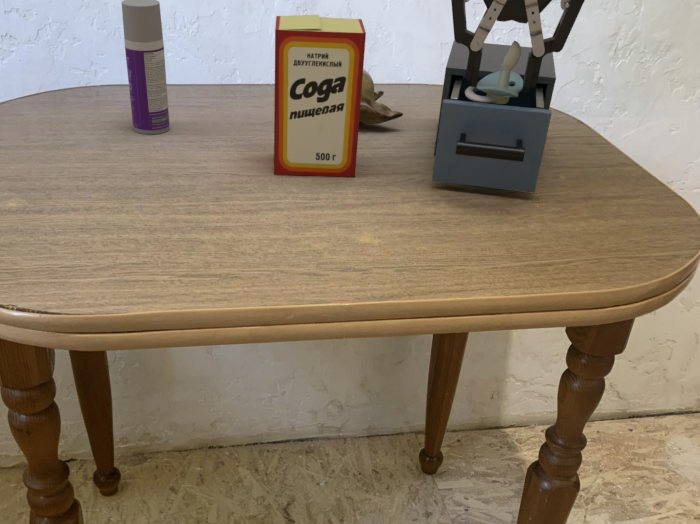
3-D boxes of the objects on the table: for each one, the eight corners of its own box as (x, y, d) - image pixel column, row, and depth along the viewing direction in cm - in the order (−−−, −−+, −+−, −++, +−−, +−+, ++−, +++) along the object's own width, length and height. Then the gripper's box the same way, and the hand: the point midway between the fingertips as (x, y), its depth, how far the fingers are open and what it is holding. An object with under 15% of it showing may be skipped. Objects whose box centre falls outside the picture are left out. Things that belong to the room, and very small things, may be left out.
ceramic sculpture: (282, 42, 103) (388, 48, 106) (277, 108, 108) (379, 111, 112) (297, 65, 95) (412, 70, 98) (291, 135, 100) (400, 137, 103)
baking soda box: (351, 156, 95) (361, 15, 86) (354, 176, 90) (366, 29, 80) (275, 154, 95) (276, 12, 85) (273, 174, 90) (275, 25, 80)
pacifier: (458, 105, 84) (513, 112, 83) (466, 44, 80) (524, 50, 79) (470, 87, 90) (523, 94, 88) (479, 29, 86) (533, 35, 84)
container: (126, 127, 101) (112, 0, 92) (156, 120, 103) (146, -4, 94) (146, 137, 98) (134, 8, 89) (176, 129, 101) (168, 3, 91)
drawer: (534, 209, 82) (553, 127, 77) (428, 196, 84) (439, 115, 79) (532, 154, 96) (548, 80, 90) (440, 144, 97) (451, 71, 92)
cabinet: (536, 167, 95) (556, 77, 88) (433, 155, 96) (445, 67, 90) (534, 131, 105) (552, 49, 99) (442, 121, 107) (453, 40, 101)
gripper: (455, -94, 73) (431, 91, 83) (611, -84, 71) (567, 104, 81) (460, -101, 79) (437, 72, 89) (604, -92, 77) (564, 85, 87)
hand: (499, 87), depth 85 cm, fingers closed on pacifier, 5 cm apart
